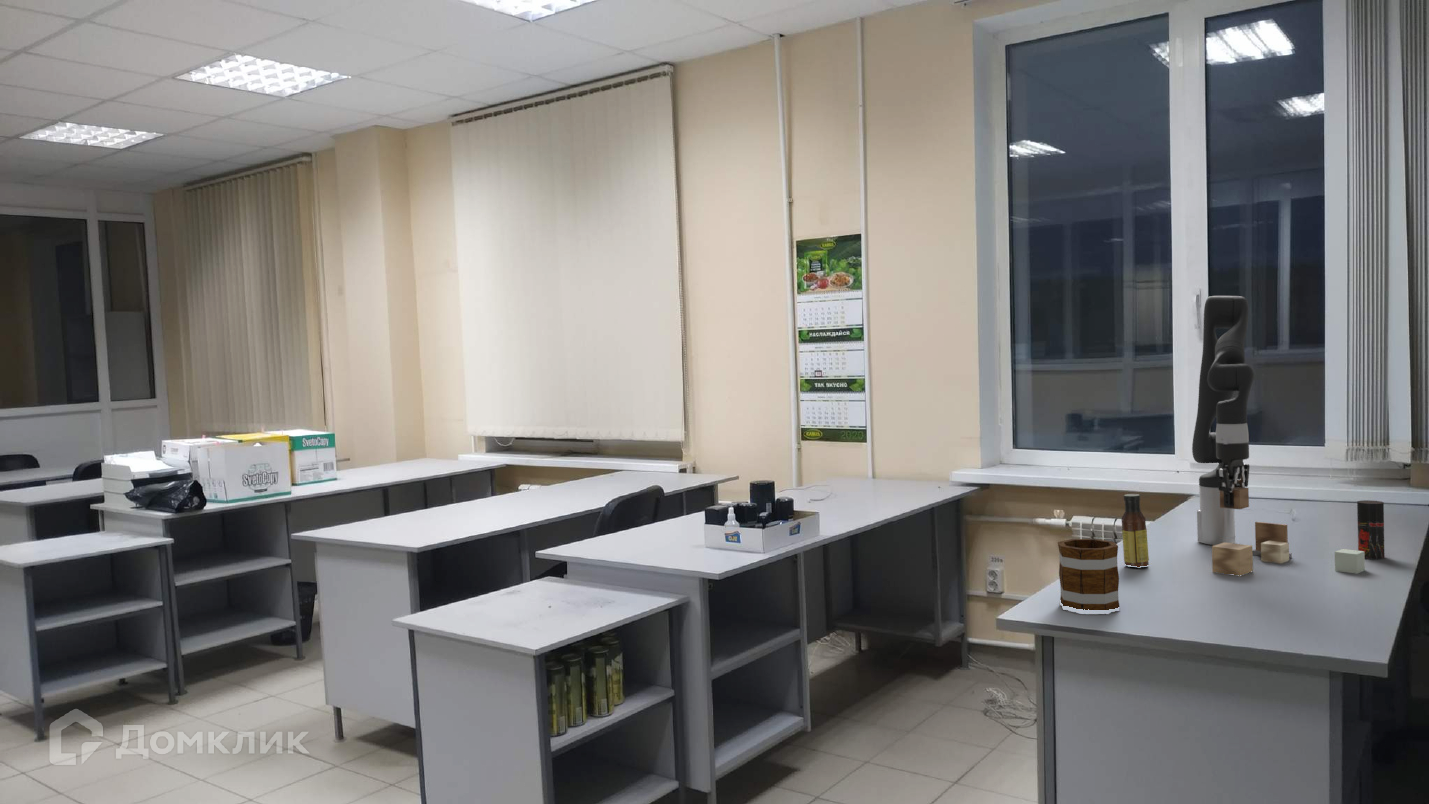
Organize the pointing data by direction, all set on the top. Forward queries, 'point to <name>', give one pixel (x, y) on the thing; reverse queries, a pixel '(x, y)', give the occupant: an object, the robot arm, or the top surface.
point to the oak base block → (1232, 558)
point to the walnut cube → (1237, 498)
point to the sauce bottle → (1134, 533)
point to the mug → (1089, 574)
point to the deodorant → (1371, 528)
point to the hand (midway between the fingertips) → (1233, 505)
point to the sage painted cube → (1349, 561)
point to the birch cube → (1275, 551)
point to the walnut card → (1269, 535)
